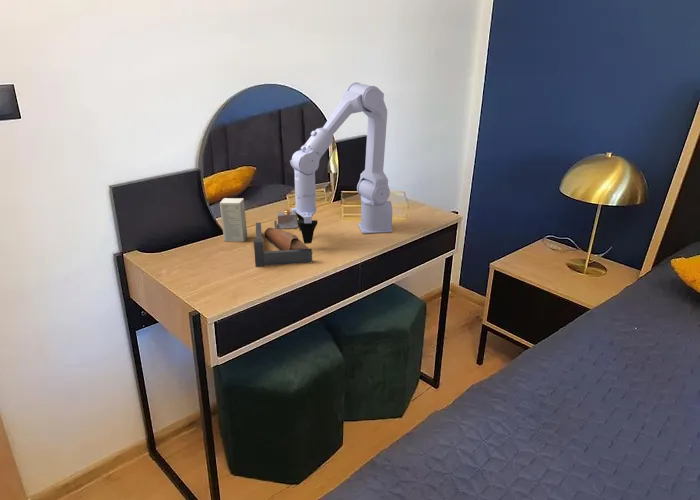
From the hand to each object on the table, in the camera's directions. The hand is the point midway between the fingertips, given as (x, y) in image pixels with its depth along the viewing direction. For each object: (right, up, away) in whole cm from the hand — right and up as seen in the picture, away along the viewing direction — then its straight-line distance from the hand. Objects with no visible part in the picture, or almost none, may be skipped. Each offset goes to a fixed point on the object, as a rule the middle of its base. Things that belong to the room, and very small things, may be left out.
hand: (306, 238), depth 166 cm
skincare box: (-21, 0, +4) cm, 22 cm away
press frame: (-7, -1, +1) cm, 8 cm away
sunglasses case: (-5, -3, -1) cm, 6 cm away
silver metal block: (-7, +4, +13) cm, 15 cm away
